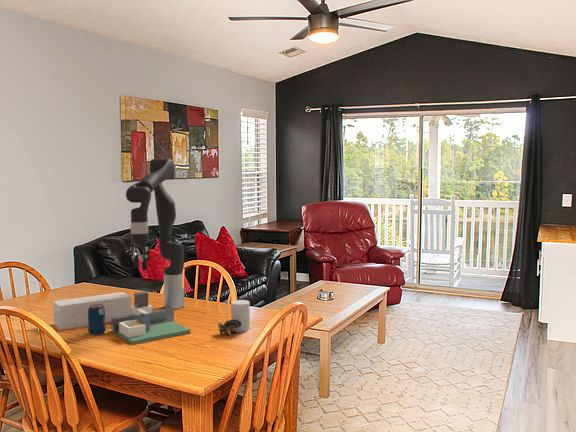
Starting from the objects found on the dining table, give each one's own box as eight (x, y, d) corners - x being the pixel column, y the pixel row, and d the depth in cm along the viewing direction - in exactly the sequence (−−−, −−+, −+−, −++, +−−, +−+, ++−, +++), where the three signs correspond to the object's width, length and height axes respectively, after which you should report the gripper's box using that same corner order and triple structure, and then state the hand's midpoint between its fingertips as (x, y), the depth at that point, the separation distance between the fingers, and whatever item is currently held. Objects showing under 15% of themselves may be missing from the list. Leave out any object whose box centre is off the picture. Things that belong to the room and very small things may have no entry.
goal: (136, 328, 237) (135, 319, 236) (145, 334, 229) (145, 324, 229) (119, 331, 232) (118, 322, 232) (128, 337, 224) (128, 328, 224)
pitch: (173, 324, 249) (173, 321, 249) (190, 332, 236) (190, 329, 236) (117, 334, 233) (117, 331, 233) (132, 344, 220) (132, 341, 220)
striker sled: (147, 319, 249) (147, 290, 248) (162, 327, 237) (162, 297, 236) (130, 322, 244) (130, 293, 243) (145, 330, 232) (144, 299, 231)
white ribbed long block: (60, 330, 240) (59, 306, 239) (53, 324, 248) (53, 301, 247) (131, 318, 259) (131, 296, 258) (123, 313, 267) (123, 291, 266)
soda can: (108, 333, 235) (108, 305, 233) (93, 337, 230) (92, 308, 229) (100, 330, 239) (100, 303, 238) (85, 333, 234) (84, 305, 233)
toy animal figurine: (225, 336, 229) (244, 328, 233) (218, 320, 231) (237, 313, 235) (220, 341, 235) (238, 334, 239) (213, 326, 237) (231, 319, 241)
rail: (170, 320, 255) (170, 307, 255) (173, 321, 253) (173, 309, 252) (111, 331, 238) (111, 317, 237) (114, 332, 235) (113, 319, 235)
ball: (130, 323, 232) (133, 332, 233) (134, 326, 229) (137, 334, 230) (139, 319, 234) (141, 328, 235) (143, 322, 231) (145, 330, 232)
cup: (252, 327, 245) (252, 300, 244) (245, 332, 237) (245, 305, 236) (235, 325, 248) (235, 299, 247) (228, 330, 240) (227, 303, 239)
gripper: (154, 233, 239) (155, 269, 240) (140, 229, 250) (141, 265, 251) (138, 234, 234) (139, 272, 235) (124, 231, 245) (125, 267, 247)
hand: (140, 268), depth 243 cm, fingers open, 8 cm apart
